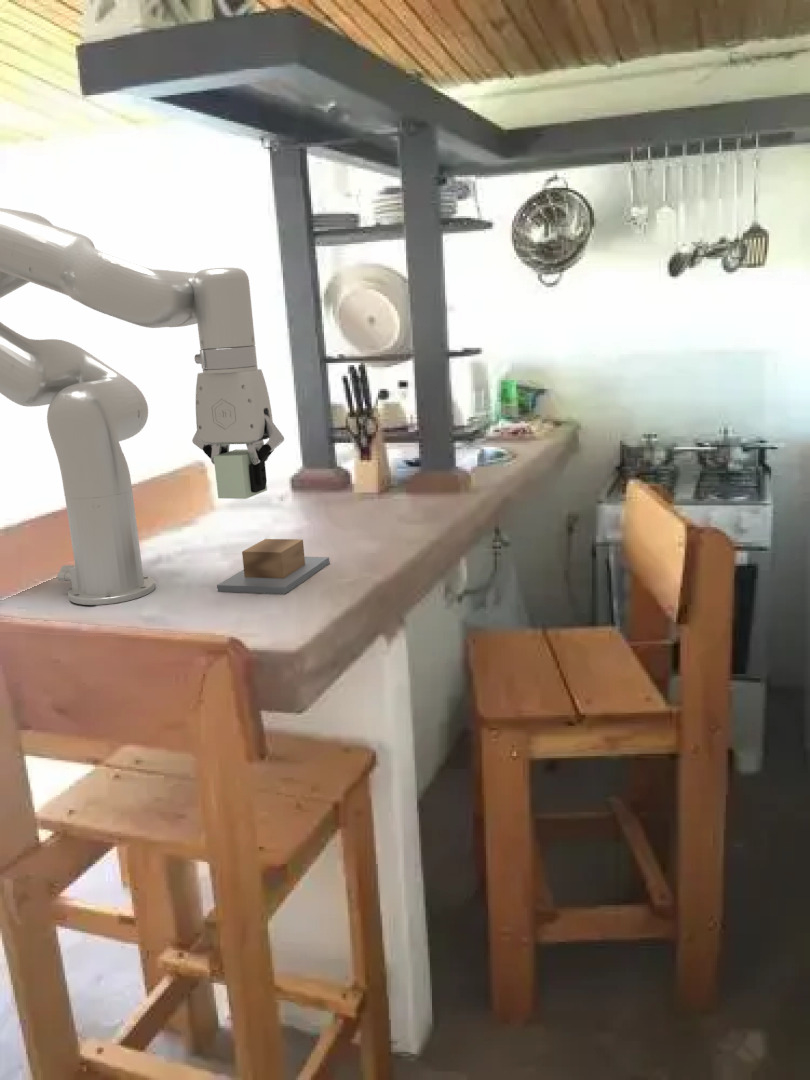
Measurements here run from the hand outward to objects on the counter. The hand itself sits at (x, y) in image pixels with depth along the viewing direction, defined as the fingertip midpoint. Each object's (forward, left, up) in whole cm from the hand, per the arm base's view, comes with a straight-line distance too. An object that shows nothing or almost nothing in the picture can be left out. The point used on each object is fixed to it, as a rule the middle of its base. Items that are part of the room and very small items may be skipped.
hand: (242, 489), depth 134 cm
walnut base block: (0, +8, -15) cm, 17 cm away
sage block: (0, 0, -1) cm, 1 cm away
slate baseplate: (0, +8, -15) cm, 17 cm away
